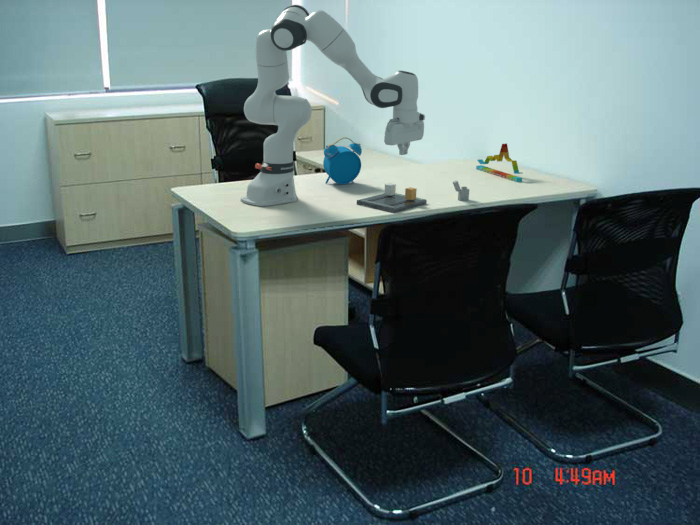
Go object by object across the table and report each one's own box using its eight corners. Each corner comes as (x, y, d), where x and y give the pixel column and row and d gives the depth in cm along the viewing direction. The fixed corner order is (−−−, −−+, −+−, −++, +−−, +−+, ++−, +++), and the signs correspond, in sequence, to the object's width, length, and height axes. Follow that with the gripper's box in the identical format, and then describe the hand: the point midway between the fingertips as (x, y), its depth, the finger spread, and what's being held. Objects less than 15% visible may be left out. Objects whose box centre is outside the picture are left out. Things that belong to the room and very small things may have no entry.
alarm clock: (353, 179, 327) (354, 133, 320) (364, 184, 318) (365, 137, 312) (317, 182, 320) (318, 135, 313) (327, 187, 311) (328, 139, 305)
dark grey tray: (393, 212, 274) (394, 208, 274) (356, 204, 286) (356, 200, 285) (426, 203, 289) (426, 199, 288) (389, 195, 300) (389, 191, 299)
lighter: (466, 199, 297) (467, 179, 295) (468, 199, 296) (470, 179, 293) (451, 200, 294) (452, 180, 292) (453, 201, 293) (455, 181, 290)
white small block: (390, 195, 291) (390, 185, 290) (384, 194, 293) (384, 184, 292) (395, 194, 293) (395, 184, 292) (389, 193, 295) (389, 183, 294)
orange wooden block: (411, 200, 285) (411, 189, 284) (404, 198, 287) (405, 188, 286) (416, 198, 287) (416, 188, 286) (409, 197, 289) (410, 187, 288)
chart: (475, 169, 355) (477, 137, 350) (481, 169, 356) (483, 137, 351) (516, 182, 329) (519, 148, 324) (522, 182, 330) (525, 148, 325)
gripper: (395, 120, 265) (393, 159, 269) (427, 115, 280) (425, 152, 284) (380, 118, 269) (379, 157, 273) (413, 113, 284) (411, 150, 288)
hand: (403, 154), depth 279 cm, fingers closed
